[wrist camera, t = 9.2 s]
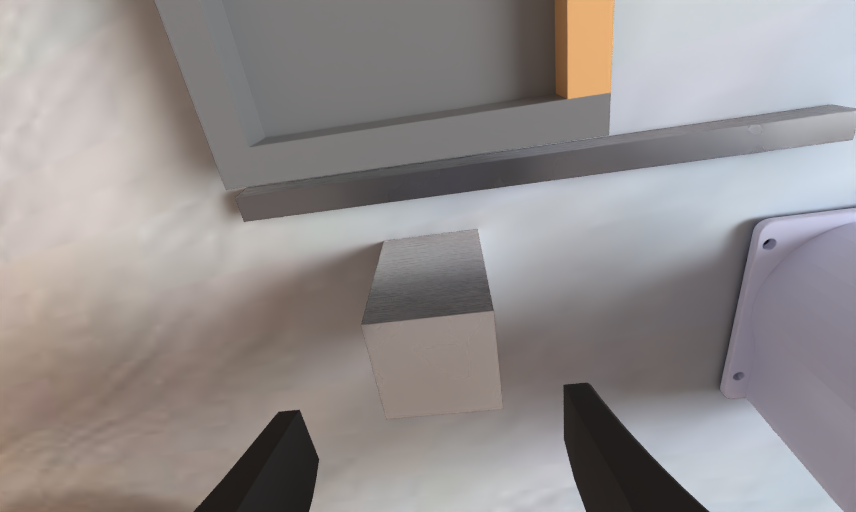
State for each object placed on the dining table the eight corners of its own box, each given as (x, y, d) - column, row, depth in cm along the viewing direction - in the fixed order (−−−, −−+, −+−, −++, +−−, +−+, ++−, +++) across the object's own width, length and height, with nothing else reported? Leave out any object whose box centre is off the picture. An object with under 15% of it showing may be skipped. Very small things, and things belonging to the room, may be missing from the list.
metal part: (485, 307, 20) (503, 409, 14) (400, 317, 20) (386, 419, 15) (477, 228, 18) (493, 310, 13) (383, 240, 18) (360, 325, 13)
